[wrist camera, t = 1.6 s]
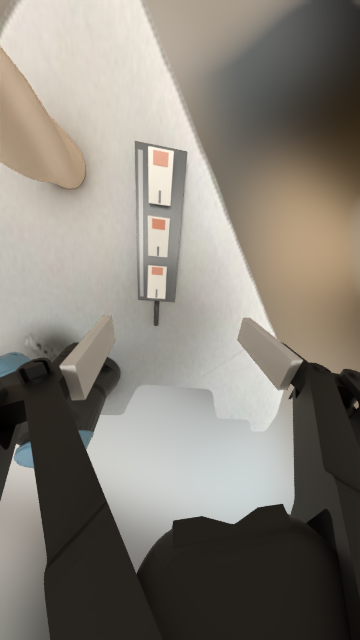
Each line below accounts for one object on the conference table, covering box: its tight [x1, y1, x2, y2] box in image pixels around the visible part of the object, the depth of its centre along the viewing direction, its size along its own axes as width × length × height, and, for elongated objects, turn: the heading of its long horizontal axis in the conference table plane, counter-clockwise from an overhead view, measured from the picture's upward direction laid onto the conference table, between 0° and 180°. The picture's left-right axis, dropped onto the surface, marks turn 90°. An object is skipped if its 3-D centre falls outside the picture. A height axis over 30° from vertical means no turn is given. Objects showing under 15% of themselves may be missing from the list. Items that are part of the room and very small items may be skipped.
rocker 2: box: [148, 215, 170, 257], centre depth 30 cm, size 4×7×2 cm, turn 174°
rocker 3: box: [147, 265, 167, 299], centre depth 34 cm, size 4×7×2 cm, turn 174°
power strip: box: [135, 141, 187, 326], centre depth 35 cm, size 9×37×4 cm, turn 174°
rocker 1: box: [148, 146, 174, 206], centre depth 26 cm, size 4×7×2 cm, turn 174°
